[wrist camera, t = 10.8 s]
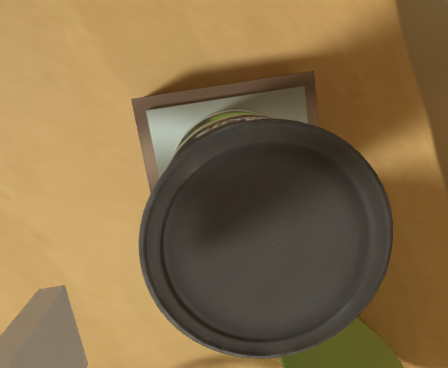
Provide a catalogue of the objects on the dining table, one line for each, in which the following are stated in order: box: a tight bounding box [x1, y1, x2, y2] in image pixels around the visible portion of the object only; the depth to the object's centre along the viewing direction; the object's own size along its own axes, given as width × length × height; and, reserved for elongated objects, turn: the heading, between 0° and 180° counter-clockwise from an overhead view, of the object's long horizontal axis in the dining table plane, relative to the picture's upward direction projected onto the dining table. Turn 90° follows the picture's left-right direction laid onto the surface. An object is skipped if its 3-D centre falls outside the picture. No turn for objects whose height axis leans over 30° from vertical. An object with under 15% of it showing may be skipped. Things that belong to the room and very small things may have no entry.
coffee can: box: [139, 110, 393, 359], centre depth 21 cm, size 10×10×14 cm
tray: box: [131, 71, 318, 192], centre depth 30 cm, size 14×14×5 cm
